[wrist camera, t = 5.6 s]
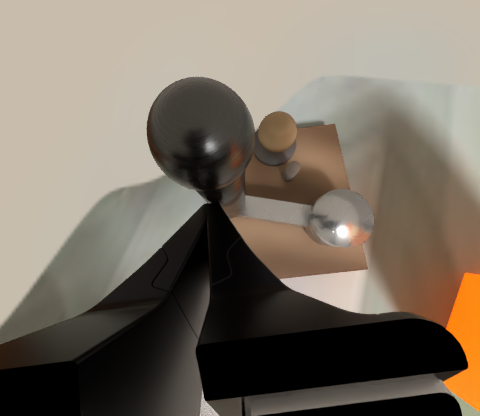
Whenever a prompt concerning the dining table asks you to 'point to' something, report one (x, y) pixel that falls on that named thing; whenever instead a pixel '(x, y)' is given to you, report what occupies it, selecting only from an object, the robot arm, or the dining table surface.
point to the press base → (295, 196)
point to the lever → (239, 163)
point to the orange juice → (467, 339)
